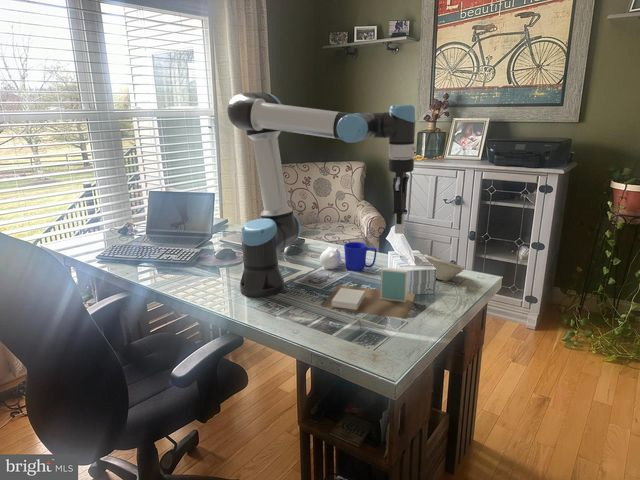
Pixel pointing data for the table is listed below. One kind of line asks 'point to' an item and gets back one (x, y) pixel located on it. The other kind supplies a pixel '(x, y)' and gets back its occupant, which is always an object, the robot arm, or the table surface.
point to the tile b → (394, 284)
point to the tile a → (348, 298)
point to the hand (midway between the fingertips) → (399, 232)
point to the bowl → (444, 268)
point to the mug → (357, 256)
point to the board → (376, 303)
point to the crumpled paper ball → (330, 259)
